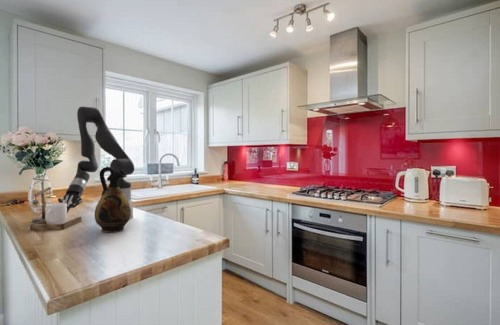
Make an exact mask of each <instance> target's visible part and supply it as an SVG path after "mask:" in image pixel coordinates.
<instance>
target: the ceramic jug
mask: <svg viewBox="0 0 500 325" xmlns="http://www.w3.org/2000/svg"><path fill="white" fill-rule="evenodd" d="M106 172H111V174H109V175H108V177H107V179H106V178H105V173H106ZM127 177H128V175H126V174H125V173H124V172H123V171H122V170H121V171H118V170H117V171H116V172H115V170H114V169H113V168H111V167H110V166H105V167H103V168H101V170H100V171H99V181H100V183H101V186H102V189H103V190H102V192H101V197H100V198H99V200H98V202H97V204H96V206H95V209H94V220H95V221H94V222H95V223H96V225H98V226H99V227H100V228H101V231H102V232H103V233H110V234H111V233H117V232H122V231H124V229H125V226H126V225H127V223H129V221H130V220H131V218H130V216H131V209H130V205H129V202H128V200H127V198H126V196H125V195H124V194H123V192H122V191H121V190H120V188H119V187H118V181H119V180H120V179H122V178H123V179H125V178H127ZM106 181H109V184H108V185H107V182H106Z"/></svg>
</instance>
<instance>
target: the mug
mask: <svg viewBox="0 0 500 325" xmlns="http://www.w3.org/2000/svg"><path fill="white" fill-rule="evenodd" d="M45 212H46V216H45V219H46V222H47V224H63V223H65V222H68V213H67V203H64V202H63V203H59V202H55V203H49V204H47V205H46V211H45Z"/></svg>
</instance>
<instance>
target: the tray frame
mask: <svg viewBox="0 0 500 325" xmlns="http://www.w3.org/2000/svg"><path fill="white" fill-rule="evenodd" d="M80 222H82V216H77V217H76V218H72V219H71V220H67V222H65V223H63V224H47V222H46V219H45V220H43V221H40V222H33V223H32V224H30V225H29V230H30V231H47V230H48V231H51V230H53V231H55V230H57V231H58V230H65V229H68V228H69V227H72V226H74V225H76V224H79V223H80Z"/></svg>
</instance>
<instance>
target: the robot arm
mask: <svg viewBox="0 0 500 325" xmlns="http://www.w3.org/2000/svg"><path fill="white" fill-rule="evenodd" d="M76 115H77V117H76V118H77V123H78V129H79V135H80V144H81V146H80V148H81V149H80V154H81V156H82V157H83V158H85V160H84V159H83V160H80V161H78V164H77V169H76V174H75V175H74V178H73V179H72V180H71V182H70V184H69V186H68V188H67V190H66V192H65V194H64V195H63V197H61V198H60V197H59V198H57V201H58V203H67V214H68V213H69V211H70V210H71V209H74V208H76V207H77V206H79V205H81V204H82V203H83V202H84V200H83V199H82V198H81V196H82V195H83V193H84V191H85V189H86V187H87V183H88V182H89V181H90V180H89V179H90V176H91V175H90V174H89V173H96V172H97V170H98V168H99V163H98V162H97V158H96V154H95V152H96V149H95V148H96V147H95V145H96V144H95V141H96V143H97V144H98V146H99V147H100V148H101V149H102V150H103V151H104V152H106V153H107V154H108V155H111V156H112V157H113V158H114V159H112V160H111V162H110V166H109V167H111V168H113V169H114V170H115V172H116V171H117V170H118V171H121V170H122V171H123V172H124V173H125V174H126V175H127V176H129V175H132V174H133V173H134V171H135V165H134V162H133V161H132V159H131V158H130V157H129V155H128V154H127V153H126V152H125V150H124V149H123V148H122V146H121V145H120V143H119V142H118V140H117V138H115V136H114V134H113V133H112V131H111V130H110V128H109V127H108V124H107V123H106V121H105V120H104V117H103V115H102V113H101V111H100V110H99V109H98V108H97V107H92V106H91V107H90V106H83V105H82V106H79V107H78V108H77V113H76ZM87 123H89V124H90V123H92V124H94V125H95V127H96V131H95V135H94V138H95V141H94V138H93V137H92V135H91V134H90V132H89V130H88V126H87ZM86 158H87V160H86ZM109 172H110V171H109ZM110 174H111V172H110ZM110 174H109V175H110ZM118 187H119V188H120V190H121V191H122V192H123V194H124V195H125V196H126V198H127V200H128V202H129V205H130V209H131V216H130V219H132V218H133V217H134V207H133V206H134V204H133V203H134V202H133V199H132V184H131V182H130V181H127V180H125V178H122V179H120V180H119V181H118Z"/></svg>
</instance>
